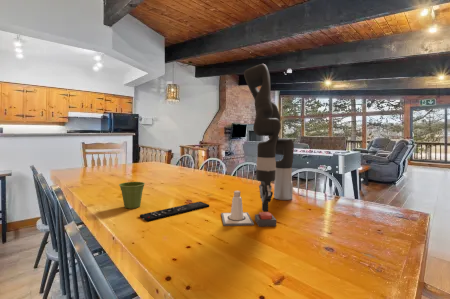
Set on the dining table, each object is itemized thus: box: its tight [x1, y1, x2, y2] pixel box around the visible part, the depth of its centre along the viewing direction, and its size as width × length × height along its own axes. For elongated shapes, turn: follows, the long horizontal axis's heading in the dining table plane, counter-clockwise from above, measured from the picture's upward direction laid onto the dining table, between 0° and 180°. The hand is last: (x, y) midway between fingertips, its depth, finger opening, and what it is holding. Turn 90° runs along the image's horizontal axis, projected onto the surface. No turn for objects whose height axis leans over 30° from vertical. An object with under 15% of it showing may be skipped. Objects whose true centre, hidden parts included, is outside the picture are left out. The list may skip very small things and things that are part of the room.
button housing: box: [254, 213, 277, 228], centre depth 102 cm, size 7×7×2 cm
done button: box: [258, 211, 273, 219], centre depth 101 cm, size 4×4×2 cm
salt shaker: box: [230, 190, 244, 219], centre depth 105 cm, size 5×5×11 cm
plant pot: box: [118, 181, 146, 209], centre depth 122 cm, size 12×12×11 cm
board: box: [220, 211, 255, 227], centre depth 106 cm, size 12×14×1 cm
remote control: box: [139, 201, 210, 223], centre depth 115 cm, size 8×32×2 cm, turn 132°
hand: (265, 211), depth 101 cm, fingers closed
